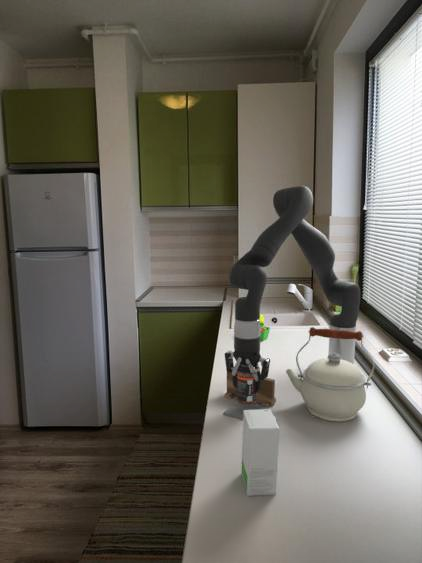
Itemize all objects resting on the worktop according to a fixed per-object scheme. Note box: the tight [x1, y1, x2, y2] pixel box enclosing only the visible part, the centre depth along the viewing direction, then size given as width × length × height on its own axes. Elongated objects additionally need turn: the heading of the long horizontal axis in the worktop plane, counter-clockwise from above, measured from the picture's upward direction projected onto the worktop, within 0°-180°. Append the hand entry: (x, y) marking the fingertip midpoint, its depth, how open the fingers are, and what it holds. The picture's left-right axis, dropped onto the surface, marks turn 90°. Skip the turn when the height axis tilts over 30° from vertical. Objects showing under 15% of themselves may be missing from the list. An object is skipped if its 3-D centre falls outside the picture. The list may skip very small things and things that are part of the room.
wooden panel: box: [224, 371, 277, 408], centre depth 133 cm, size 6×16×8 cm, turn 57°
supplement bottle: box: [235, 365, 257, 404], centre depth 124 cm, size 6×6×11 cm
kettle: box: [284, 326, 375, 422], centre depth 124 cm, size 25×18×25 cm
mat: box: [222, 400, 270, 421], centre depth 125 cm, size 10×10×1 cm
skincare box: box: [240, 408, 280, 497], centre depth 91 cm, size 8×7×16 cm
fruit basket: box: [260, 313, 271, 342], centre depth 196 cm, size 11×9×11 cm
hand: (246, 389), depth 124 cm, fingers closed on supplement bottle, 6 cm apart
